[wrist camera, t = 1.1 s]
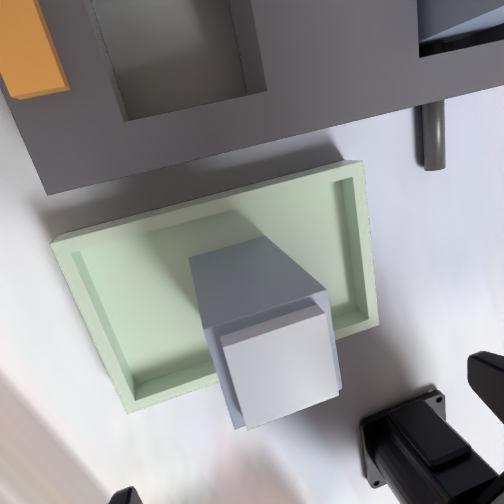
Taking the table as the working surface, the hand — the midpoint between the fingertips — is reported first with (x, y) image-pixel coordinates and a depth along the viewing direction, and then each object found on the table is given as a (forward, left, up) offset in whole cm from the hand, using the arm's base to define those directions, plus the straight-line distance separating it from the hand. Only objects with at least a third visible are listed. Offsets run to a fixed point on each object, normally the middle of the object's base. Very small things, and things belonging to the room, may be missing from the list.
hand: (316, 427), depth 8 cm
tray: (0, 0, -10) cm, 10 cm away
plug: (0, 0, -10) cm, 10 cm away
